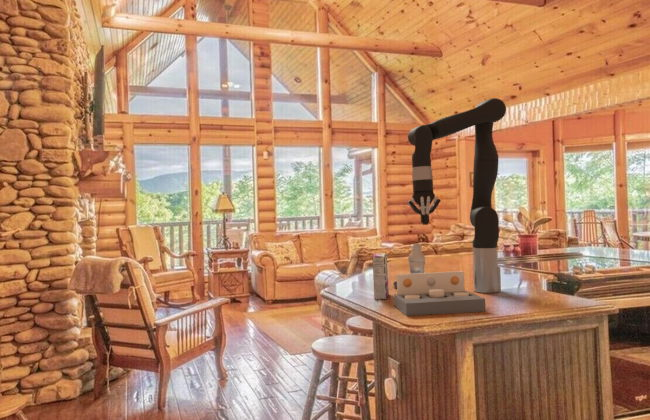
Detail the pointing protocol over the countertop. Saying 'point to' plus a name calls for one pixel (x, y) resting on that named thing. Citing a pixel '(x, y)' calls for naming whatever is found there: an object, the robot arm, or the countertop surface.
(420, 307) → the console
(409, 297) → the button
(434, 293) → the button middle
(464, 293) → the button
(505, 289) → the countertop surface
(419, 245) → the metal water bottle
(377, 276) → the candy bar box
